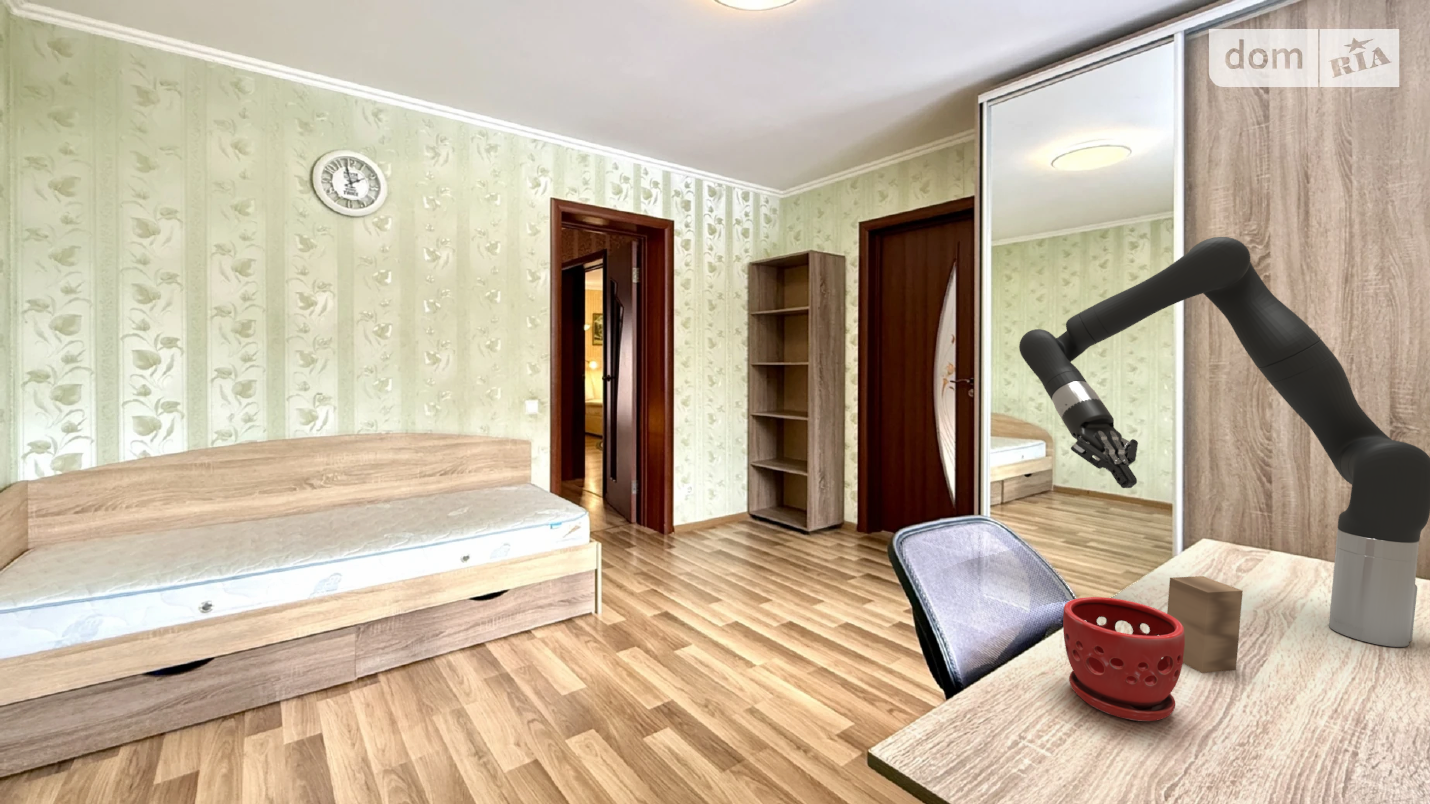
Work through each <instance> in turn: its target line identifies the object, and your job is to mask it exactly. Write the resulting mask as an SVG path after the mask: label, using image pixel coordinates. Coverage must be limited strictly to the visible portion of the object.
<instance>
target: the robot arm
mask: <svg viewBox="0 0 1430 804" xmlns="http://www.w3.org/2000/svg"><path fill="white" fill-rule="evenodd" d="M1202 294H1203V295H1204V296H1205V297H1206V298H1207V299H1209V301H1210V302H1211V303H1212V304H1213V306H1215V307H1216V309H1218V310H1219V311H1220V312H1221V313H1222V314H1223V316H1224V317H1225V319H1227V320H1226V321H1228V322H1229V324H1230V326H1231V328H1232V329H1233V331H1234V333H1235V335H1236V337H1237V339H1238V340H1239V342H1240V343H1241V345H1242V347H1243V348H1244V350H1245V352H1246V354H1247V355H1248V356H1249V357H1250V359H1251V360H1252V362H1253V363H1254V365H1255V366H1256V368H1258V370H1259V371H1260V372H1261V373H1262V375H1263V376H1264V377H1265V378H1266V380H1267V381H1268V382H1269V384H1271V386H1272V387H1273V388H1274V389H1275V390H1276V391H1277V393H1278V394H1279V395H1280V396H1281V397H1282V399H1283V400H1284V401H1285V402H1286V403H1287V404H1288V405H1289V407H1291V408H1292V410H1294V411H1295V413H1296V414H1297V415H1298V416H1299V417H1300V418H1301V419H1302V420H1303V421H1304V423H1305V424H1306V425H1308V427H1309V428H1310V429H1311V431H1312V433H1313V434H1314V435H1315V437H1316V438H1317V440H1318V441H1319V443H1320V444H1321V446H1322V448H1323V449H1324V451H1325V453H1326V454H1327V456H1328V458H1329V459H1330V461H1331V463H1332V464H1333V466H1334V468H1335V469H1336V471H1337V472H1338V474H1339V475H1340V476H1341V477H1342V478H1343V479H1344V480H1345V482H1347V483H1349V484H1350V485H1351V490H1350V491H1351V493H1350V499H1349V504H1348V505H1347V508H1346V510H1344V511H1342V512H1340V514H1339V515H1338V519H1337V530H1336V531H1337V532H1336V541H1335V555H1334V565H1333V575H1332V585H1331V597H1330V598H1331V599H1330V608H1329V615H1328V616H1329V617H1328V627H1329V628H1330V629H1332V630H1333V631H1335V632H1337V633H1338V634H1341V635H1344V636H1346V637H1348V638H1352V639H1354V640H1358V641H1362V642H1365V643H1369V644H1374V645H1377V646H1385V647H1397V648H1404V647H1408V646H1409V645H1410V642H1412V641H1413V633H1414V627H1415V623H1414V622H1415V615H1416V613H1415V612H1416V608H1417V607H1416V606H1417V595H1418V586H1417V584H1416V581H1417V580H1416V579H1417V578H1416V577H1417V569H1418V556H1419V545H1420V539H1421V532H1422V531H1423V529H1424V528H1425V527H1426V525H1428V522H1429V520H1430V519H1429V518H1430V455H1428V454H1427V453H1426V451H1425V450H1423V449H1422V448H1420V447H1418V446H1416V445H1414V444H1412V443H1411V444H1410V443H1407V442H1404V441H1399V440H1395V439H1392V438H1390V437H1389V436H1388V435H1387V434H1386V433H1385V432H1383V430H1382V429H1381V428H1379V427H1378V425H1377V424H1376V423H1375V422H1374V420H1372V419H1371V418H1370V417H1369V416H1368V415H1367V414H1366V412H1365V411H1364V409H1362V408H1361V406H1360V405H1359V403H1358V401H1357V400H1356V397H1355V394H1354V392H1353V389H1352V386H1351V385H1350V384H1351V383H1350V382H1349V379H1348V376H1347V374H1346V372H1345V370H1344V367H1343V366H1342V364H1341V363H1340V361H1339V360H1338V358H1337V357H1336V355H1335V354H1334V353H1333V352H1332V351H1331V349H1330V348H1329V347H1328V346H1327V344H1326V343H1325V342H1324V341H1323V340H1322V339H1321V337H1320V336H1319V335H1318V334H1317V333H1316V332H1315V331H1314V329H1312V328H1311V327H1310V326H1309V325H1308V324H1307V323H1306V322H1305V320H1303V319H1302V318H1300V316H1298V315H1297V314H1296V313H1295V312H1294V311H1292V309H1290V308H1289V307H1288V306H1286V304H1284V303H1283V302H1282V301H1281V300H1279V298H1277V297H1276V296H1275V295H1274V294H1273V293H1272V291H1270V289H1269V288H1268V286H1267V285H1266V284H1265V282H1264V280H1262V277H1260V275H1259V273H1257V271H1256V268H1254V266H1253V264H1252V262H1251V254H1250V251H1249V249H1248V247H1247V246H1246V245H1245V244H1244V243H1243V242H1241V241H1240V240H1239V239H1236V238H1233V237H1228V236H1217V237H1210V238H1207V239H1204V240H1201V241H1200V242H1199V243H1197V244H1196V245H1194V246H1192V248H1191V249H1190V250H1189V251H1188V252H1187V253H1185V254H1184V255H1183V256H1181V257H1180V258H1179V259H1177V260H1176V261H1174V262H1173V263H1171V264H1170V265H1168V266H1167V267H1166V268H1164V269H1163V270H1161V271H1159V272H1157V273H1155V274H1154V275H1153V276H1151V277H1149V278H1147V279H1144V280H1143V281H1141V282H1139V283H1137V284H1136V285H1134V286H1132V287H1129V288H1128V289H1125V290H1124V291H1121V292H1118V293H1116V294H1114V295H1111V296H1110V297H1108V298H1106V299H1103V300H1102V301H1099V302H1098V303H1095V304H1094V305H1092V306H1090V307H1088V308H1086V309H1084V310H1082V311H1081V312H1079V313H1076V314H1074V315H1072V316H1071V317H1070V318H1068V319H1067V320H1066V323H1065V328H1066V331H1064V332H1063V333H1062V334H1061V335H1059V336H1058V337H1056V336H1054V335H1053V334H1052V333H1051V331H1048V330H1046V329H1041V328H1038V329H1037V328H1036V329H1035V328H1034V329H1032V330H1029V331H1027V332H1026V333H1025V334H1024V335H1022V337H1021V339H1020V342H1019V346H1018V348H1019V349H1018V350H1019V353H1020V355H1021V357H1022V359H1023V360H1024V362H1025V363H1026V364H1027V366H1028V367H1029V368H1030V370H1032V373H1034V374H1035V376H1037V378H1038V379H1039V380H1040V382H1041V384H1042V386H1043V388H1044V389H1045V391H1046V393H1047V395H1048V396H1049V398H1050V400H1051V401H1052V403H1053V405H1054V409H1055V410H1056V412H1057V414H1058V415H1059V416H1060V419H1061V420H1062V422H1063V423H1064V425H1065V427H1066V428H1067V430H1068V432H1069V433H1070V435H1071V437H1072V438H1074V439H1076V441H1075V443H1073V445H1072V446H1070V450H1071V451H1072V452H1074V453H1075V454H1077V455H1078V456H1079V457H1081V458H1082V459H1084V460H1085V461H1087V462H1088V463H1090V465H1092V466H1094V467H1096V468H1097V469H1100V470H1101V469H1102V468H1103V469H1105V470H1106V471H1108V472H1110V473H1111V475H1112V477H1113V478H1114V479H1115V481H1116V483H1117V484H1118V485H1119V486H1120V487H1121V488H1122V489H1131V488H1133V487H1134V486H1136V484H1137V483H1138V480H1137V477H1136V475H1135V474H1134V472H1133V471H1132V470H1131V468H1130V466H1131V465H1132V463H1134V462H1135V461H1136V458H1137V451H1138V444H1139V442H1138V441H1137V440H1136V439H1135V438H1132V439H1131V440H1128V439H1125V438H1123V436H1122V434H1121V433H1120V432H1119V431H1118V430H1117V429H1116V428H1115V425H1114V423H1115V419H1114V417H1113V415H1112V414H1111V412H1110V411H1109V410H1108V408H1107V406H1106V405H1105V404H1104V402H1103V401H1102V399H1101V398H1100V397H1099V395H1098V394H1097V392H1096V391H1095V390H1094V389H1093V387H1091V385H1090V384H1089V383H1088V382H1087V380H1086V379H1085V377H1084V375H1083V374H1082V373H1081V371H1080V370H1079V369H1078V368H1077V367H1076V366H1075V365H1074V364H1073V363H1072V361H1074V360H1075V359H1076V358H1078V357H1079V356H1080V355H1082V354H1083V353H1084V352H1086V350H1088V348H1091V347H1092V346H1093V345H1096V344H1098V343H1101V342H1102V341H1105V340H1106V339H1107V340H1108V339H1109V338H1110V337H1113V336H1115V335H1118V334H1119V333H1121V332H1123V331H1124V330H1126V329H1129V328H1130V327H1132V326H1134V325H1136V324H1137V323H1140V322H1141V321H1143V320H1144V319H1147V318H1148V317H1150V316H1152V315H1154V314H1155V313H1156V314H1157V312H1160V311H1162V310H1163V309H1166V308H1169V307H1170V306H1172V305H1175V304H1177V303H1179V302H1182V301H1185V300H1187V299H1190V298H1192V297H1195V296H1199V295H1202Z"/></svg>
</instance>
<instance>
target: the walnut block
mask: <svg viewBox="0 0 1430 804" xmlns="http://www.w3.org/2000/svg"><path fill="white" fill-rule="evenodd" d="M1243 593H1244V592H1243V590H1241V589H1239V588H1236V587H1234V586H1232V585H1231V586H1230V585H1228V584H1225V583H1223V582H1220V581H1218V580H1214V579H1212V578H1209V577H1207V576H1203V575H1201V576H1200V575H1199V576H1177V577H1169V586H1168V596H1167V597H1168V598H1167V599H1168V601H1167V614H1169V615H1170V616H1172V617H1174V618H1175V619H1177V620H1178V621H1179V622H1180V623H1181V624H1182V626H1183V627H1184V634H1185V647H1184V655H1183V664H1184V665H1185V666H1188V667H1190V668H1191V669H1193V670H1196V671H1197V672H1199V673H1200V674H1203V673H1204V674H1205V673H1218V672H1230V671H1231V672H1232V671H1237V662H1238V660H1237V659H1238V652H1239V650H1238V649H1239V639H1240V638H1239V637H1240V627H1241V616H1242V615H1241V614H1242V601H1243Z"/></svg>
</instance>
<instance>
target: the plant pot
mask: <svg viewBox="0 0 1430 804" xmlns="http://www.w3.org/2000/svg"><path fill="white" fill-rule="evenodd" d="M1062 618H1063V622H1062V624H1063V625H1062V626H1063V628H1062V629H1063V638H1064V646H1065V651H1066V652H1065V653H1066V656H1067V659H1068V662H1069V665H1070V667H1071V669H1072V671H1071V672H1070V673H1069V675H1068V681H1069V684H1070V686H1071V688H1072V690H1073V691H1074V693H1076V695H1078V697H1079V698H1080V699H1082V700H1083V701H1084V702H1085V703H1087V704H1088V705H1089V706H1091V707H1093V708H1095V710H1096V709H1097V710H1099V711H1101V712H1103V713H1106V714H1108V715H1110V716H1111V715H1112V716H1114V717H1117V718H1120V719H1121V718H1122V719H1126V720H1131V721H1132V722H1155V721H1159V720H1162V719H1166V718H1167V717H1169V716H1171V714H1173V712H1174V710H1175V708H1176V699H1175V698H1174V696H1173V695H1172V692H1173V690H1174V689H1175V687H1176V685H1177V683H1178V681H1179V679H1180V676H1181V672H1182V667H1183V664H1184V663H1183V655H1184V647H1185V634H1184V627H1183V626H1182V624H1181V623H1180V622H1179V621H1178V620H1177V619H1175V618H1174V617H1172V616H1170V615H1169V614H1167V613H1166V612H1164V611H1162V610H1159V609H1157V608H1155V607H1152V606H1149V605H1146V604H1142V603H1139V602H1135V601H1130V600H1125V599H1120V598H1112V597H1104V596H1103V597H1101V596H1089V597H1088V596H1087V597H1086V596H1085V597H1079V598H1075V599H1071V600H1069V601H1068V602H1066V603H1065V604H1064V606H1063V617H1062ZM1099 618H1103V619H1105V621H1106V622H1105V623H1104V624H1099V623H1098V619H1099ZM1121 621H1122V622H1126V623H1128V624H1129V626H1131V629H1132V633H1126V632H1125V633H1124V632H1120V631H1118V630H1117V629H1116V625H1117V623H1118V622H1121ZM1142 624H1145V625H1146V626H1147V627H1148V628H1149V629H1148V630H1149V632H1144V631H1143V630H1142V628H1141V625H1142Z"/></svg>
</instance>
